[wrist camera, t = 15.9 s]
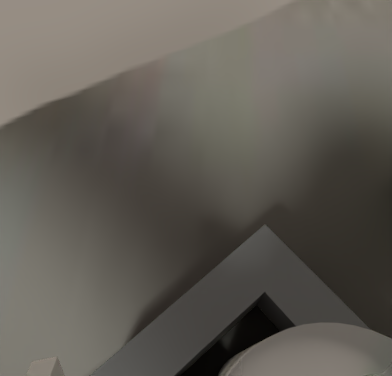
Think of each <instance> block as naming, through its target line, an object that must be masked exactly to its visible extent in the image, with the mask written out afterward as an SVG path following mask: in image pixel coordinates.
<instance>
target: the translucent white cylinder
mask: <svg viewBox="0 0 392 376" xmlns="http://www.w3.org/2000/svg"><path fill="white" fill-rule="evenodd" d="M218 376H392V339H391V338H389V337H387V336H385V335H382V334H380V333H377V332H375V331H373V330H369V329H366V328H362V327H359V326H355V325H349V324H342V323H322V322H320V323H312V324H303V325H300V326H296V327H292V328H289V329H286V330H284V331H281V332H279V333H277V334H274V335H272V336H270V337H268V338H266V339H264V340H263V341H261V342H259V343H257V344H255V345H253V346H251V347H249V348H247V349H245V350H244V351H242V352H240V353H238V354H236V355H234V356H233V357H231V358H230V359H229V360H228V361H227V362H226V363H225V364H224V365H223V366H222V368H221V369H220V371H219V373H218Z"/></svg>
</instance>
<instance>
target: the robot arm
mask: <svg viewBox="0 0 392 376" xmlns="http://www.w3.org/2000/svg"><path fill="white" fill-rule="evenodd" d="M26 376H64V373H63V370H62V368H61V365H60V362H59V359H58V357H52V358H47V359H42V360H37V361H32V363H31V365H30V367H29V369H28V371H27V374H26Z"/></svg>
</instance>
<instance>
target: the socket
mask: <svg viewBox="0 0 392 376" xmlns="http://www.w3.org/2000/svg"><path fill="white" fill-rule="evenodd" d="M256 305H257V306H258V307H259V308H260V309H261V310H262V312H263V313H264V314H265V315H266V316H267V317H268V318H269V319H270V321H271V322H272V323H273V324H274V325H275V326H276V327H277V329H278V330H279V331H280V332H281V331H284V330H286V329H289V328H292V327H296V326H300V325H303V324H312V323H320V322H322V323H342V324H349V325H355V326H359V327H362V328H366V329H369V330H371V329H370V328H369V327H368V326H367V325H366V324H365V323H364V322H363V321H362V320H361V319H360V318H359V317H358V316H357V315H356V314H355V313H354V312H353V311H352V310H351V309H350V308H349V307H348V306H347V305H346V304H345V303H344V302H343V301H342V300H341V299H340V298H339V297H338V296H337V295H336V294H335V293H334V292H333V291H332V290H331V289H330V288H329V287H328V286H327V285H326V284H325V283H324V282H323V281H322V280H321V279H320V278H319V277H318V276H317V275H316V274H315V273H314V272H313V271H312V270H311V269H310V268H309V267H308V266H307V265H306V264H305V263H304V262H303V261H302V260H301V259H300V258H299V257H298V256H297V255H296V254H295V253H294V252H293V251H292V250H291V249H290V248H289V247H288V246H287V245H286V244H285V243H284V242H283V241H282V240H281V239H280V238H279V237H278V236H277V235H276V234H275V233H274V232H273V231H272V230H271V229H270V228H269V227H268V226H267V225H266V224H265V225H263V226H262V227H261V228H260V229H259V230H258V231H256V232H255V233H254V234H253V235H252V236H251V237H250V238H248V239H247V240H246V241H245V242H244V243H243V244H241V245H240V246H239V247H238V248H237V249H236V250H234V251H233V252H232V253H231V254H230V255H229V256H228V257H226V258H225V259H224V260H223V261H222V262H221V263H219V264H218V265H217V266H216V267H215V268H214V269H212V270H211V271H210V272H209V273H208V274H207V275H206V276H204V277H203V278H202V279H201V280H200V281H199V282H197V283H196V284H195V285H194V286H193V287H192V288H191V289H189V290H188V291H187V292H186V293H185V294H184V295H182V296H181V297H180V298H179V299H178V300H177V301H175V302H174V303H173V304H172V305H171V306H170V307H169V308H167V309H166V310H165V311H164V312H163V313H162V314H160V315H159V316H158V317H157V318H156V319H155V320H153V321H152V322H151V323H150V324H149V325H148V326H147V327H145V328H144V329H143V330H142V331H141V332H140V333H138V334H137V335H136V336H135V337H134V338H133V339H131V340H130V341H129V342H128V343H127V344H126V345H125V346H123V347H122V348H121V349H120V350H119V351H118V352H116V353H115V354H114V355H113V356H112V357H111V358H109V359H108V360H107V361H106V362H105V363H104V364H103V365H101V366H100V367H99V368H98V369H97V370H96V371H94V372H93V373H92V374H91V375H90V376H181V375H182V374H183V373H184V372H185V371H186V370H187V369H188V368H189V367H190V366H191V365H192V364H194V363H195V362H196V361H197V360H198V359H199V358H200V357H201V356H202V355H203V354H204V353H205V352H206V351H207V350H209V349H210V348H211V347H212V346H213V345H214V344H215V343H216V342H217V341H218V340H219V339H220V338H221V337H223V336H224V335H225V334H226V333H227V332H228V331H229V330H230V329H231V328H232V327H233V326H234V325H235V324H237V323H238V322H239V321H240V320H241V319H242V318H243V317H244V316H245V315H246V314H247V313H248V312H249V311H250V310H252V309H253V308H254V307H255V306H256Z"/></svg>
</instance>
